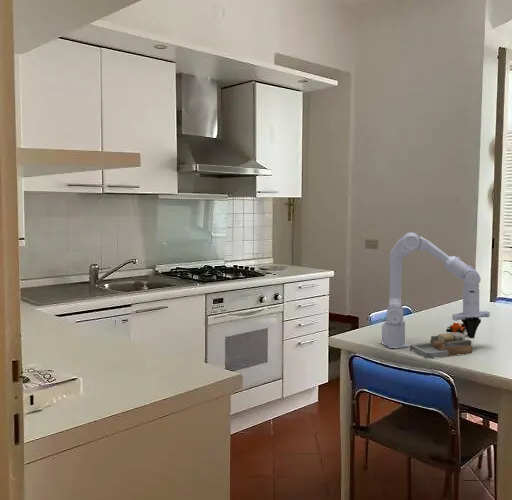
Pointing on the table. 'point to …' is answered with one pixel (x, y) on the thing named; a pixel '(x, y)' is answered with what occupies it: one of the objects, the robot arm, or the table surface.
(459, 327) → the toy
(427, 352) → the tray
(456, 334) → the grey block
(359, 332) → the table surface
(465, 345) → the slot block
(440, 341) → the tan wooden block
